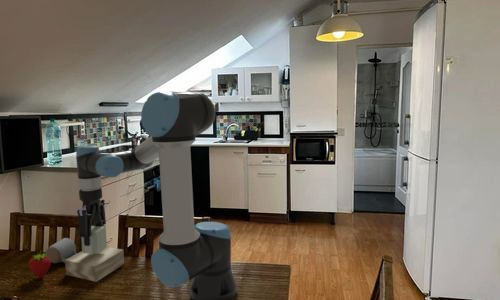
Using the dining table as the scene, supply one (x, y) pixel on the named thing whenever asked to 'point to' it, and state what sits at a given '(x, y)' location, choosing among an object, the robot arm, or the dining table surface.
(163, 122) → the robot arm
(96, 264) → the birch block
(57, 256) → the ceramic mug
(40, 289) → the dining table surface
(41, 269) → the strawberry
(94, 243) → the sage block
